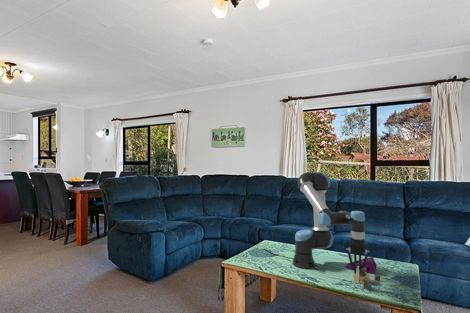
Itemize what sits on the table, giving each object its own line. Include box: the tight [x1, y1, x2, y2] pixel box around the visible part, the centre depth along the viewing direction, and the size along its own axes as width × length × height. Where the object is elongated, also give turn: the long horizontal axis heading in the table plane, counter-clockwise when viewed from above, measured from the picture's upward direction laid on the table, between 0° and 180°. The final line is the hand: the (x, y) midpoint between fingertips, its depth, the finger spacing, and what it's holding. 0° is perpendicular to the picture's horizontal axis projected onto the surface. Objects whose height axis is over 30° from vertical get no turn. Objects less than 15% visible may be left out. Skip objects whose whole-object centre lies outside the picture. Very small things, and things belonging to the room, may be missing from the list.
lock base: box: [357, 266, 384, 285], centre depth 169 cm, size 28×14×9 cm, turn 76°
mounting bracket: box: [345, 256, 377, 275], centre depth 186 cm, size 10×8×18 cm
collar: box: [353, 272, 370, 288], centre depth 165 cm, size 16×8×5 cm, turn 166°
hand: (357, 279), depth 162 cm, fingers closed
